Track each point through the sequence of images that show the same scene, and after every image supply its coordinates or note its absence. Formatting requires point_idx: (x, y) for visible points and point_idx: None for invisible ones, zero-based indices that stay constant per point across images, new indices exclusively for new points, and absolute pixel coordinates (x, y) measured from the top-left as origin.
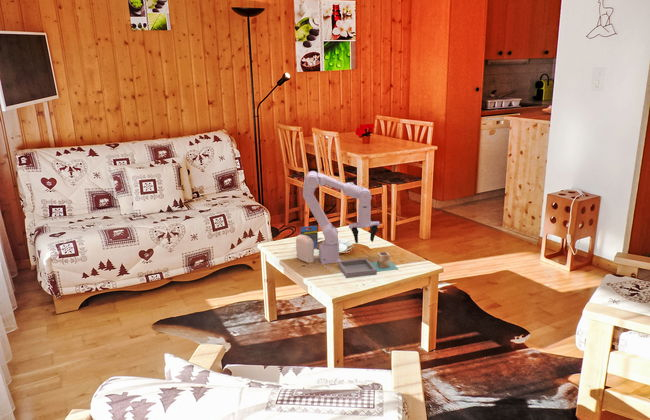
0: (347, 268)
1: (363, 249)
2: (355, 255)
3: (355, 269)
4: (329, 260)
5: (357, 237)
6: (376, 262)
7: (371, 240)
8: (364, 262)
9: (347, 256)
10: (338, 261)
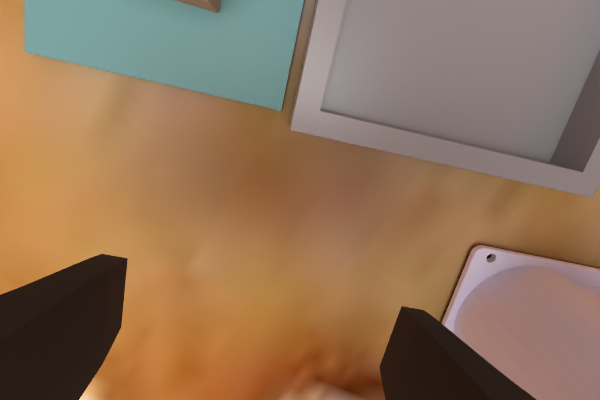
0: (535, 82)
1: (158, 394)
2: (283, 320)
3: (489, 15)
4: (579, 286)
5: (480, 383)
6: (198, 67)
7: (118, 287)
8: (324, 110)
9: (353, 328)
10: (589, 194)
